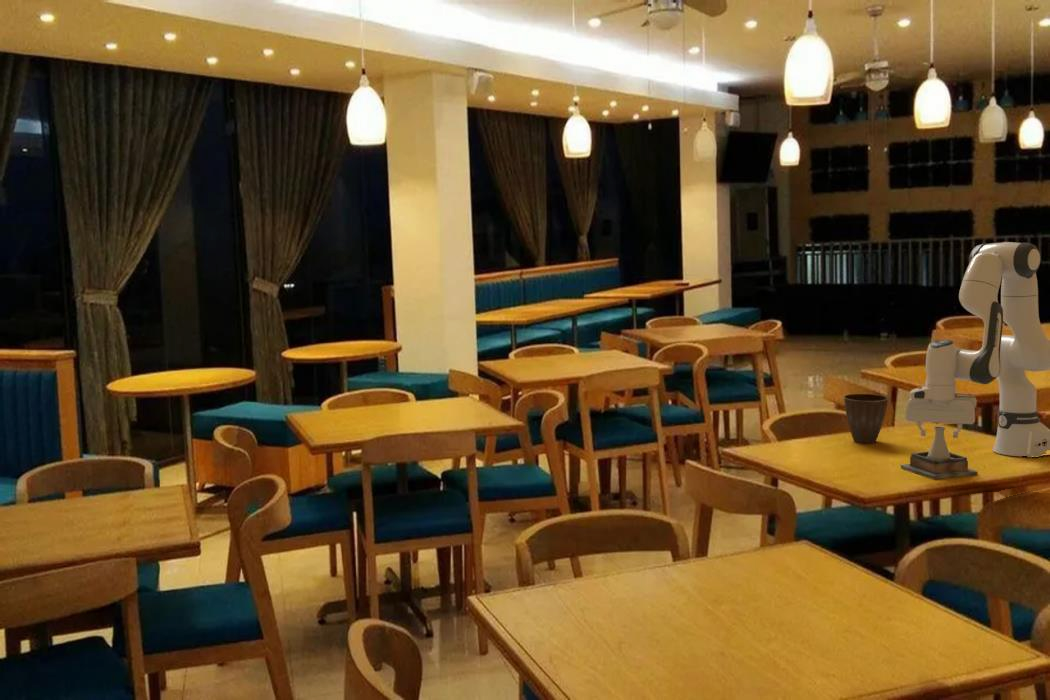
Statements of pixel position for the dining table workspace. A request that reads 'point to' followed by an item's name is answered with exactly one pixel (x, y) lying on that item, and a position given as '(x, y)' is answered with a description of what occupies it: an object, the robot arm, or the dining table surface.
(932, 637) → the dining table surface
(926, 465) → the walnut plinth
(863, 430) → the plant pot
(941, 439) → the flask
